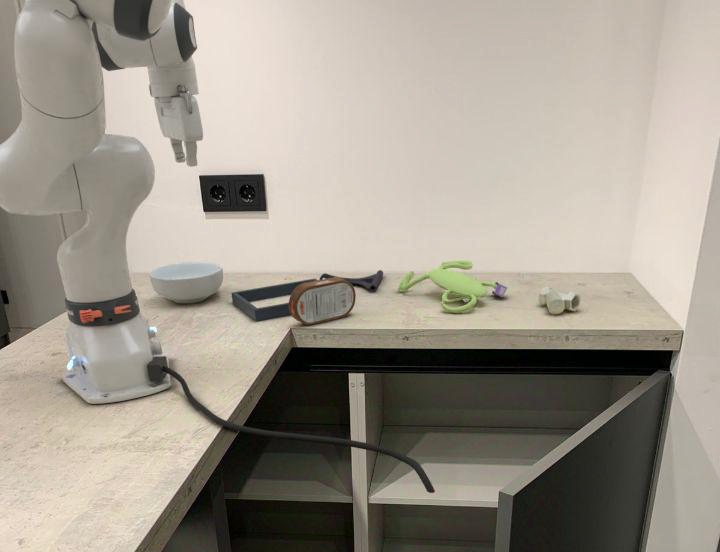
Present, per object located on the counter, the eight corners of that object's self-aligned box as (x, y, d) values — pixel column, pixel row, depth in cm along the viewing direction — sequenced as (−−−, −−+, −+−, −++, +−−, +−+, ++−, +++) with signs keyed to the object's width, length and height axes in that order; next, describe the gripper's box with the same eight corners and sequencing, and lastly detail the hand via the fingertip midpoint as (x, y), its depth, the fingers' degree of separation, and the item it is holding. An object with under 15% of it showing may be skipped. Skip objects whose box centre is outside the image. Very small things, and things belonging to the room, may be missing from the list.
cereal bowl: (174, 313, 165) (168, 282, 162) (142, 300, 176) (137, 270, 173) (239, 297, 174) (235, 267, 171) (205, 286, 185) (200, 257, 182)
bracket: (325, 277, 187) (324, 266, 185) (383, 276, 185) (382, 265, 183) (314, 293, 174) (313, 281, 173) (376, 292, 172) (376, 280, 171)
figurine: (457, 277, 180) (458, 254, 177) (524, 301, 159) (526, 276, 156) (391, 289, 173) (390, 265, 171) (452, 316, 152) (452, 289, 150)
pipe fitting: (559, 319, 149) (580, 309, 152) (560, 300, 147) (581, 291, 150) (528, 311, 154) (548, 302, 157) (528, 293, 152) (549, 284, 155)
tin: (351, 311, 159) (349, 272, 155) (359, 315, 157) (356, 275, 153) (289, 326, 153) (285, 285, 148) (296, 329, 150) (293, 288, 146)
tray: (345, 304, 164) (344, 293, 163) (255, 321, 157) (254, 309, 156) (315, 288, 178) (315, 278, 177) (232, 303, 170) (231, 292, 169)
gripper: (204, 84, 133) (216, 166, 139) (178, 85, 149) (189, 158, 156) (170, 86, 130) (183, 170, 137) (146, 87, 147) (159, 161, 153)
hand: (186, 164), depth 146 cm, fingers open, 8 cm apart
